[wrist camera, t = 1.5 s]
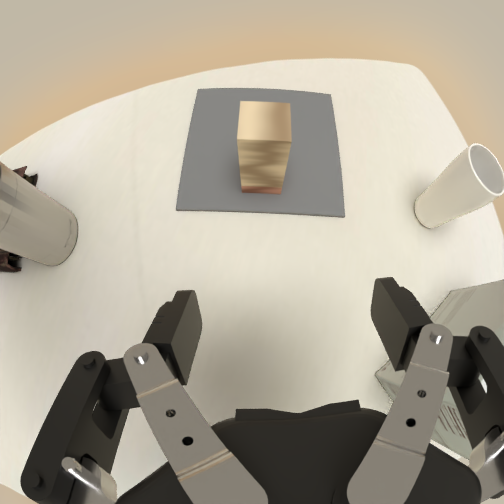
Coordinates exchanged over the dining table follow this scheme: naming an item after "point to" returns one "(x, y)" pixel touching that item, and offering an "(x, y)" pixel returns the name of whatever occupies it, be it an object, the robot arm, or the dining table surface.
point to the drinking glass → (461, 187)
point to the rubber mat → (227, 160)
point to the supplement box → (459, 323)
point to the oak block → (263, 145)
